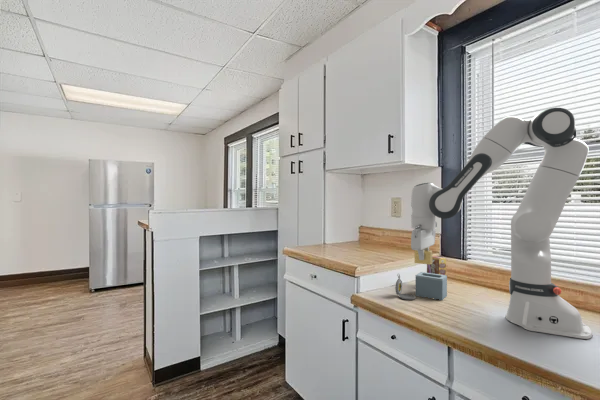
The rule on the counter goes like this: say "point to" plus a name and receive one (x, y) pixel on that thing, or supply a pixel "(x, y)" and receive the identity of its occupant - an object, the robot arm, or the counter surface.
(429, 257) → the tan wooden block
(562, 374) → the counter surface
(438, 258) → the candy box
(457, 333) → the counter surface
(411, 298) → the pocket watch
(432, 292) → the blue grey rectangular container
